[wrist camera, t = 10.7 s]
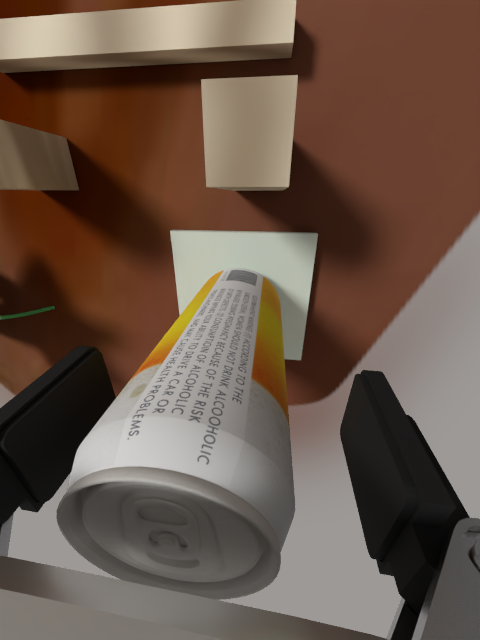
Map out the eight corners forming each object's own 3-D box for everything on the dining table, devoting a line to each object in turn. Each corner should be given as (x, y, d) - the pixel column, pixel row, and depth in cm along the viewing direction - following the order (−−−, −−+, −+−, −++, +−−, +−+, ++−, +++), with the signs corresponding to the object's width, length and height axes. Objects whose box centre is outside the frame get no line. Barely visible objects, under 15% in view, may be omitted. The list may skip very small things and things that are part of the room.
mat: (316, 232, 17) (318, 233, 16) (300, 356, 21) (301, 360, 21) (173, 229, 18) (170, 230, 17) (186, 348, 22) (183, 351, 22)
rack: (294, 17, 13) (320, -214, 6) (282, 190, 16) (288, 187, 9) (-8, 37, 14) (-283, -117, 7) (40, 190, 18) (-115, 186, 11)
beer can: (203, 336, 21) (80, 585, 8) (198, 263, 18) (-7, 449, 5) (277, 341, 20) (285, 621, 7) (283, 266, 18) (318, 488, 4)
